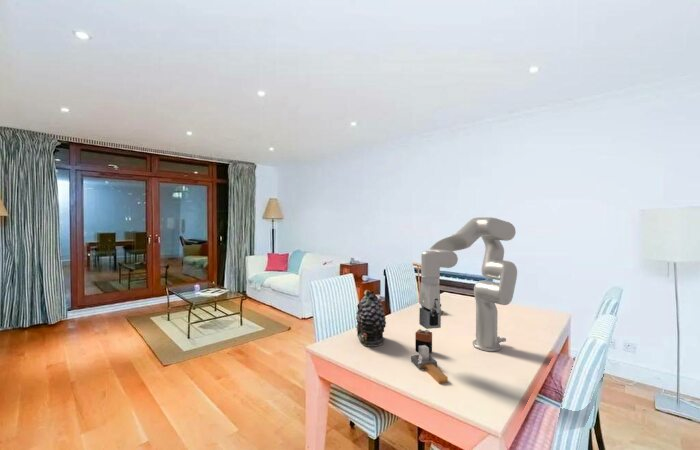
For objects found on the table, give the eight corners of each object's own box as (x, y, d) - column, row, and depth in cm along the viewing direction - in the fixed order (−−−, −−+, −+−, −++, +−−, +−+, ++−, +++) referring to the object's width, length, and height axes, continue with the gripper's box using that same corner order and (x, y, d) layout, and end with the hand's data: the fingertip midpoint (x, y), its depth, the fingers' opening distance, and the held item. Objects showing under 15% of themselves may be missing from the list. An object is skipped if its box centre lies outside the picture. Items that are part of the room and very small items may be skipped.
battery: (429, 354, 146) (429, 333, 145) (415, 351, 149) (415, 330, 149) (432, 351, 149) (432, 330, 149) (418, 348, 153) (418, 327, 153)
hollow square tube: (432, 322, 139) (433, 306, 139) (440, 327, 133) (440, 310, 133) (419, 324, 137) (419, 307, 137) (426, 329, 131) (426, 311, 131)
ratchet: (452, 381, 121) (452, 362, 121) (433, 384, 120) (433, 364, 119) (427, 359, 141) (427, 342, 141) (411, 361, 139) (411, 344, 139)
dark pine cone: (351, 334, 171) (350, 288, 171) (377, 332, 175) (377, 286, 174) (362, 350, 151) (361, 297, 151) (392, 346, 155) (391, 295, 154)
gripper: (412, 277, 142) (412, 317, 142) (432, 284, 125) (432, 330, 126) (428, 276, 144) (427, 316, 144) (449, 283, 127) (449, 328, 128)
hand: (429, 322), depth 135 cm, fingers closed on hollow square tube, 6 cm apart
